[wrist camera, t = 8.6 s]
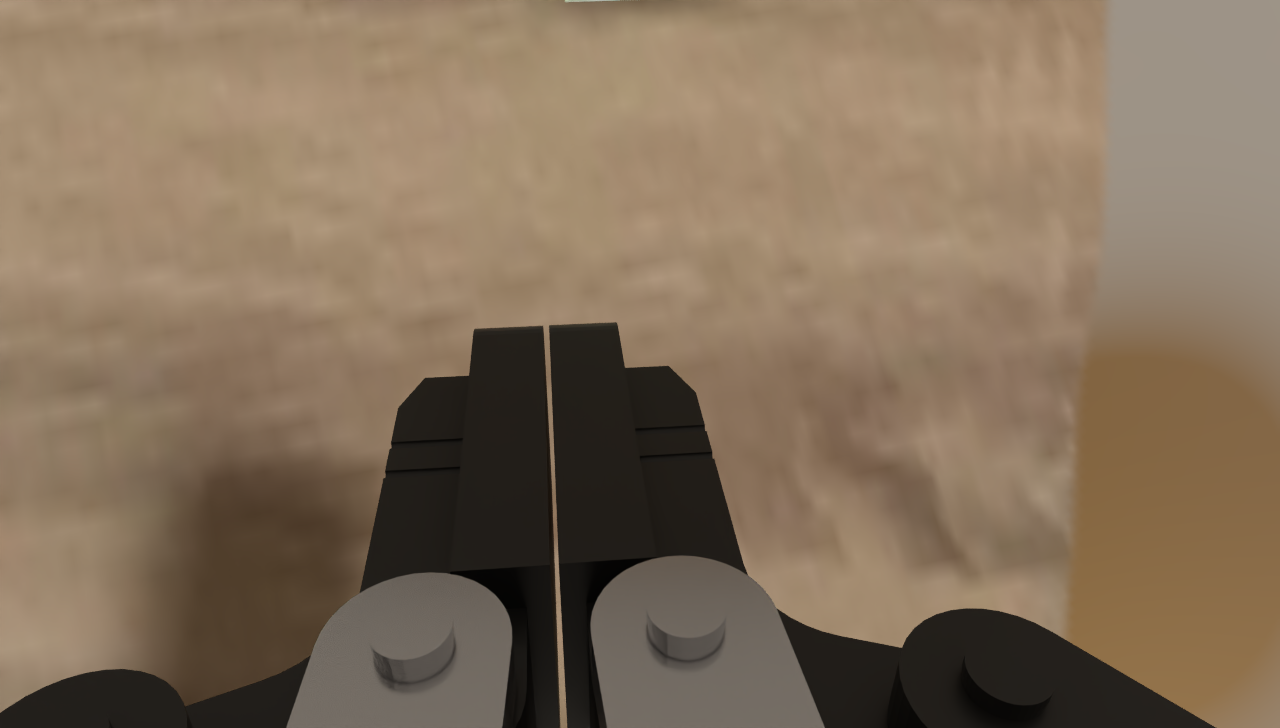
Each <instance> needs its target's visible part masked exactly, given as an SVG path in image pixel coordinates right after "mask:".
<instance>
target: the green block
mask: <svg viewBox="0 0 1280 728" xmlns="http://www.w3.org/2000/svg"><path fill="white" fill-rule="evenodd" d="M586 1H618V0H565V2H586Z"/></svg>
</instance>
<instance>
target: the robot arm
mask: <svg viewBox="0 0 1280 728" xmlns="http://www.w3.org/2000/svg"><path fill="white" fill-rule="evenodd" d="M549 333H550V357H551V382H552V406H553V431H554V455H555V480H556V504H557V529H558V553H559V575H560V594H561V613H562V632H563V651H564V670H565V689H566V708H567V727H568V728H1215V727H1214V726H1212V725H1210V724H1208V723H1207V722H1205V721H1203V720H1202V719H1200V718H1198V717H1196V716H1195V715H1193V714H1191V713H1190V712H1188V711H1186V710H1185V709H1183V708H1181V707H1179V706H1178V705H1176V704H1174V703H1173V702H1171V701H1169V700H1167V699H1166V698H1164V697H1162V696H1161V695H1159V694H1157V693H1155V692H1153V691H1152V690H1150V689H1149V688H1147V687H1145V686H1144V685H1142V684H1140V683H1138V682H1137V681H1135V680H1133V679H1131V678H1130V677H1128V676H1126V675H1124V674H1123V673H1121V672H1119V671H1118V670H1116V669H1114V668H1113V667H1111V666H1109V665H1107V664H1106V663H1104V662H1102V661H1100V660H1099V659H1097V658H1095V657H1094V656H1092V655H1090V654H1089V653H1087V652H1085V651H1083V650H1082V649H1080V648H1079V647H1077V646H1075V645H1073V644H1072V643H1070V642H1068V641H1067V640H1065V639H1063V638H1061V637H1060V636H1058V635H1056V634H1055V633H1053V632H1051V631H1049V630H1047V629H1045V628H1043V627H1042V626H1040V625H1038V624H1036V623H1034V622H1031V621H1029V620H1026V619H1023V618H1021V617H1018V616H1015V615H1011V614H1008V613H1004V612H1000V611H994V610H987V609H958V610H950V611H947V612H943V613H940V614H936V615H934V616H932V617H930V618H928V619H926V620H924V621H923V622H922V623H921V624H919V625H918V626H917V627H915V628H914V629H913V631H912V632H911V633H910V634H909V636H908V637H907V638H906V641H905V643H904V645H903V647H902V648H899V647H894V646H889V645H884V644H878V643H873V642H868V641H863V640H858V639H853V638H847V637H842V636H838V635H834V634H830V633H826V632H822V631H819V630H817V629H814V628H811V627H809V626H806V625H804V624H802V623H800V622H798V621H796V620H794V619H792V618H790V617H789V616H787V615H786V614H784V613H783V612H781V611H780V610H778V609H777V608H776V607H775V605H774V603H773V601H772V599H771V598H770V597H769V595H768V594H767V593H766V592H765V590H764V589H763V588H762V587H761V586H760V585H759V584H758V583H757V582H755V581H754V580H753V579H752V578H751V577H749V576H748V574H747V572H746V569H745V567H744V564H743V561H742V557H741V553H740V550H739V546H738V543H737V539H736V535H735V532H734V528H733V525H732V521H731V517H730V514H729V510H728V507H727V503H726V499H725V496H724V492H723V489H722V485H721V482H720V478H719V474H718V471H717V467H716V464H715V460H714V459H713V458H712V449H711V446H710V442H709V438H708V435H707V431H705V424H704V421H703V417H702V413H701V410H700V406H699V403H698V399H697V395H696V392H695V391H694V390H693V389H692V388H691V387H690V386H689V385H688V384H686V383H685V382H684V381H683V380H682V379H681V378H680V377H679V376H678V375H677V374H676V373H675V372H674V371H673V370H672V369H671V368H670V367H669V366H658V367H637V368H625V366H624V360H623V354H622V348H621V342H620V336H619V331H618V325H617V323H616V322H615V323H592V324H569V325H549ZM391 445H392V448H391V449H390V450H389V455H388V460H387V465H386V470H385V473H386V478H384V479H383V484H382V489H381V494H380V498H379V503H378V508H377V513H376V518H375V522H374V527H373V532H372V537H371V542H370V547H369V551H368V556H367V561H366V566H365V571H364V575H363V580H362V585H361V590H360V593H359V594H358V595H356V596H354V597H353V598H352V599H350V600H349V601H348V602H347V603H345V604H344V605H343V606H342V607H340V608H339V609H338V610H337V612H336V613H335V614H334V615H333V616H332V617H331V618H330V619H329V620H328V622H327V623H326V625H325V626H324V628H323V629H322V631H321V632H320V634H319V637H318V639H317V641H316V643H315V645H314V648H313V651H312V654H311V656H309V657H308V658H306V659H305V660H303V661H302V662H300V663H299V664H297V665H295V666H293V667H291V668H289V669H288V670H286V671H284V672H282V673H280V674H277V675H275V676H272V677H270V678H267V679H265V680H262V681H260V682H257V683H254V684H251V685H248V686H245V687H242V688H239V689H236V690H233V691H230V692H227V693H224V694H221V695H218V696H215V697H212V698H209V699H206V700H203V701H200V702H197V703H194V704H192V705H189V706H186V707H185V706H184V703H183V701H182V700H181V698H180V696H179V695H178V693H177V691H176V690H175V689H174V688H172V687H171V686H170V685H169V684H168V683H167V682H165V681H164V680H162V679H160V678H158V677H156V676H155V675H151V674H148V673H145V672H141V671H134V670H126V669H116V670H101V671H95V672H89V673H84V674H81V675H77V676H73V677H70V678H66V679H64V680H61V681H59V682H56V683H53V684H51V685H48V686H46V687H44V688H42V689H40V690H38V691H36V692H34V693H32V694H30V695H28V696H26V697H24V698H23V699H21V700H19V701H18V702H16V703H15V704H13V705H12V706H10V707H8V708H7V709H5V710H4V711H2V712H1V713H0V728H560V705H559V677H558V648H557V620H556V591H555V563H554V534H553V505H552V481H551V459H550V440H549V421H548V403H547V385H546V366H545V348H544V331H543V326H529V327H506V328H483V329H474V333H473V342H472V353H471V363H470V373H469V376H456V377H435V378H425V379H424V380H423V381H422V382H421V383H420V384H419V385H418V386H417V388H416V389H415V390H414V391H413V392H412V393H411V394H410V395H409V397H408V398H407V399H406V400H405V401H404V402H403V403H402V404H401V406H400V407H399V408H398V412H397V417H396V422H395V426H394V431H393V436H392V441H391Z"/></svg>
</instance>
